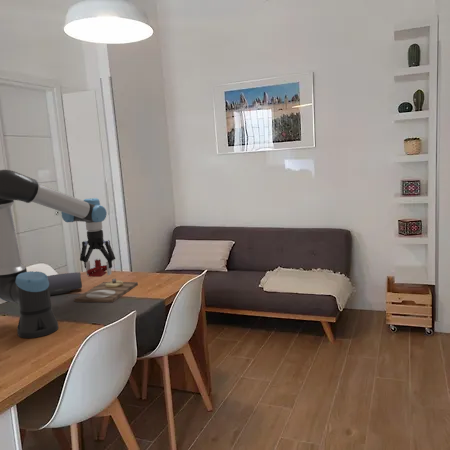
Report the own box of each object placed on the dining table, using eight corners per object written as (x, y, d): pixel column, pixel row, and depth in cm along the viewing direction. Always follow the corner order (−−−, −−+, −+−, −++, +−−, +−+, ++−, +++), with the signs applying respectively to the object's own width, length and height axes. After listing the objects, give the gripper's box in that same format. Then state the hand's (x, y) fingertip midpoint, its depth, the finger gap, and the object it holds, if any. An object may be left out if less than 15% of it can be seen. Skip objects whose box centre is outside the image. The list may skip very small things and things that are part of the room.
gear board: (112, 302, 212) (111, 292, 212) (74, 301, 217) (73, 291, 216) (137, 284, 241) (137, 275, 241) (103, 284, 246) (102, 275, 245)
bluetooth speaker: (81, 287, 242) (79, 269, 241) (82, 291, 234) (80, 273, 232) (36, 294, 234) (33, 275, 233) (35, 299, 226) (33, 279, 224)
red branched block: (104, 271, 229) (103, 255, 228) (113, 275, 219) (111, 258, 218) (83, 275, 223) (81, 258, 222) (91, 279, 213) (89, 262, 212)
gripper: (119, 228, 219) (124, 272, 222) (77, 229, 224) (82, 272, 227) (112, 230, 211) (117, 276, 215) (69, 232, 216) (74, 276, 220)
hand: (99, 274), depth 221 cm, fingers closed on red branched block, 10 cm apart
